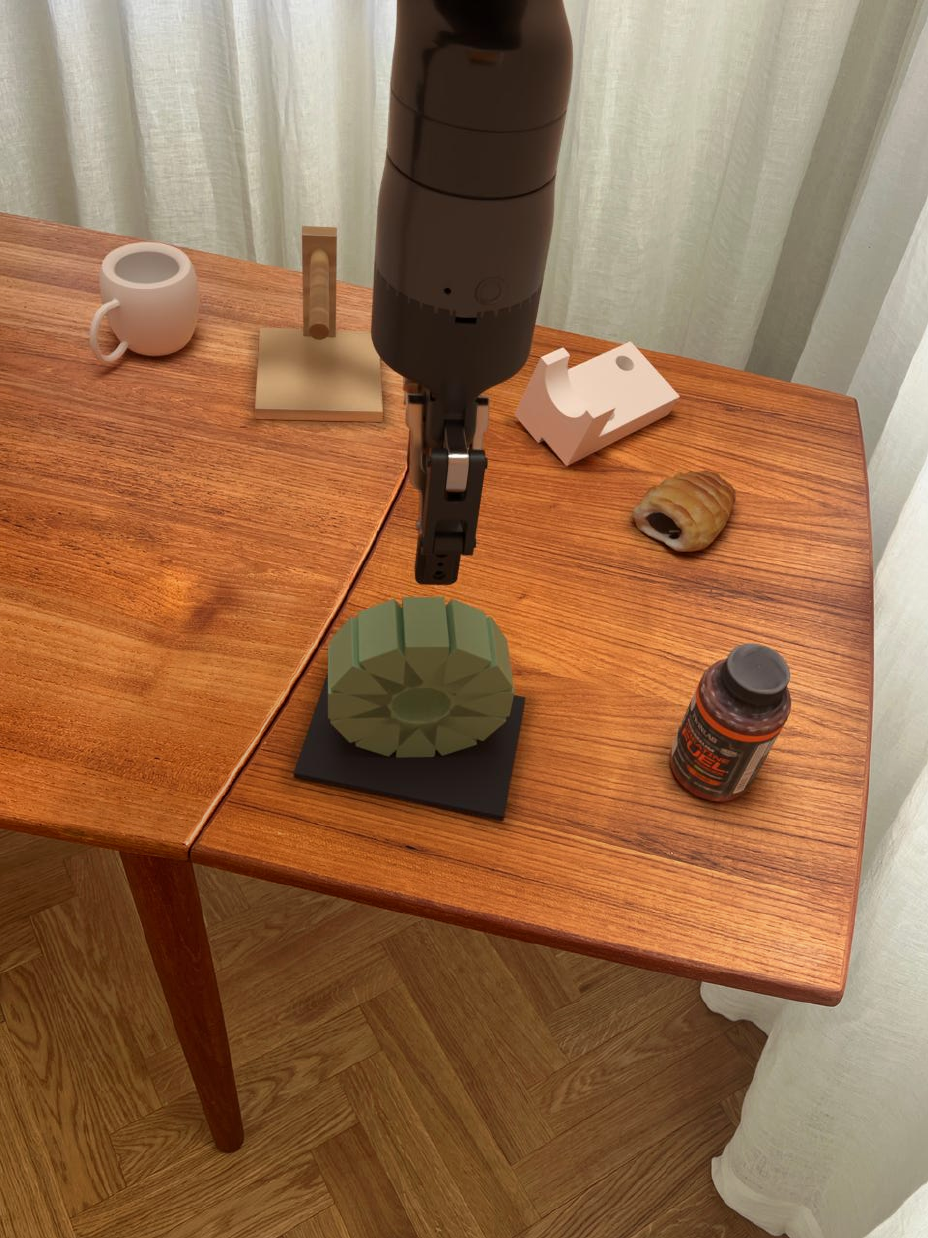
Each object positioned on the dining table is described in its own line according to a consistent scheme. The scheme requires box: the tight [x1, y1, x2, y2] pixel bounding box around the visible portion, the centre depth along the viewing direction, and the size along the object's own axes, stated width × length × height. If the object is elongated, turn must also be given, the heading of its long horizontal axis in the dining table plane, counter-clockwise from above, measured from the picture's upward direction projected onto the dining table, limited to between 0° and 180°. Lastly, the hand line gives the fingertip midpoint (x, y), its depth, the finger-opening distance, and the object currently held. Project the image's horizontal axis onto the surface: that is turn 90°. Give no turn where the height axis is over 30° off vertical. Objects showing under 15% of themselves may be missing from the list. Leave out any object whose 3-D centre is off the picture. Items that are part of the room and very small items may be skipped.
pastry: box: [631, 470, 737, 553], centre depth 92 cm, size 9×7×4 cm
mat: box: [293, 672, 526, 822], centre depth 76 cm, size 14×10×1 cm
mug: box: [88, 241, 200, 365], centre depth 99 cm, size 12×8×8 cm
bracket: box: [513, 340, 681, 467], centre depth 98 cm, size 13×7×8 cm, turn 130°
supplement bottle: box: [669, 642, 792, 803], centre depth 72 cm, size 6×6×11 cm
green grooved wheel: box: [327, 596, 515, 758], centre depth 71 cm, size 4×12×12 cm, turn 95°
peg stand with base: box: [254, 225, 384, 423], centre depth 97 cm, size 13×11×12 cm
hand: (430, 523), depth 61 cm, fingers open, 8 cm apart
